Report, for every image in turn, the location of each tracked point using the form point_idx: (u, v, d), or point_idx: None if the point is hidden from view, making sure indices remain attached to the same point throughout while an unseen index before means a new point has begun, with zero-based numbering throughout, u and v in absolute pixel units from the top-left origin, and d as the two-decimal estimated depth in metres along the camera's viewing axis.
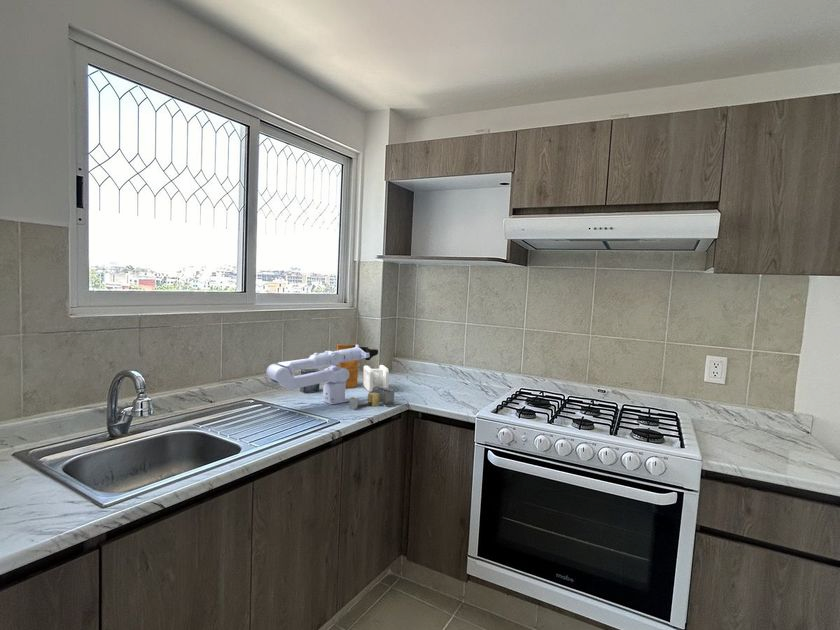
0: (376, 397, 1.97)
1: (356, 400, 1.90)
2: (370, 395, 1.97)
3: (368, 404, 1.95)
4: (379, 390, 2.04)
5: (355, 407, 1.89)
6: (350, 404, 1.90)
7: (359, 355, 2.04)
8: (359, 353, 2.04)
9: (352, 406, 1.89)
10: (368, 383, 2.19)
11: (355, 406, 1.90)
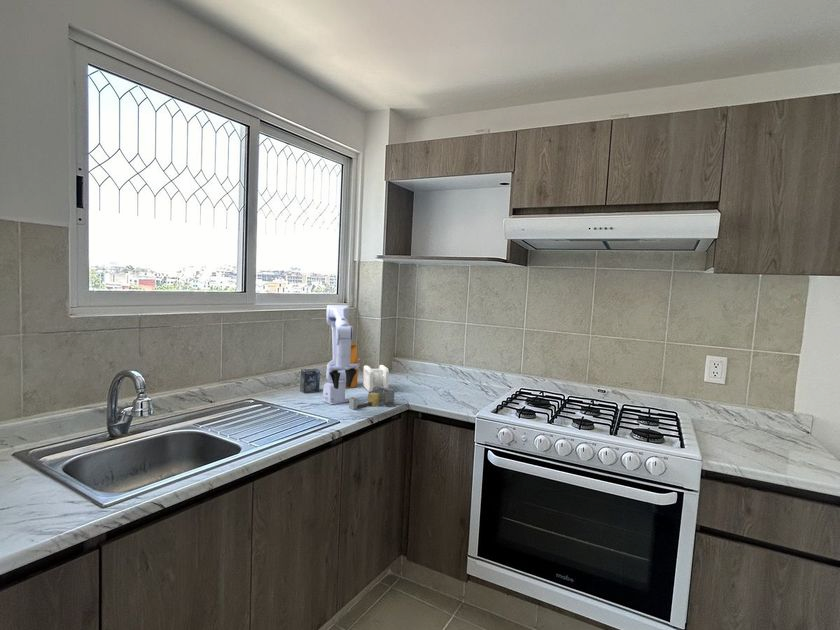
0: (376, 397, 1.97)
1: (356, 400, 1.90)
2: (370, 395, 1.97)
3: (368, 404, 1.95)
4: (379, 390, 2.04)
5: (355, 407, 1.89)
6: (350, 404, 1.90)
7: (336, 364, 1.83)
8: (338, 365, 1.83)
9: (352, 406, 1.89)
10: (368, 383, 2.19)
11: (355, 406, 1.90)
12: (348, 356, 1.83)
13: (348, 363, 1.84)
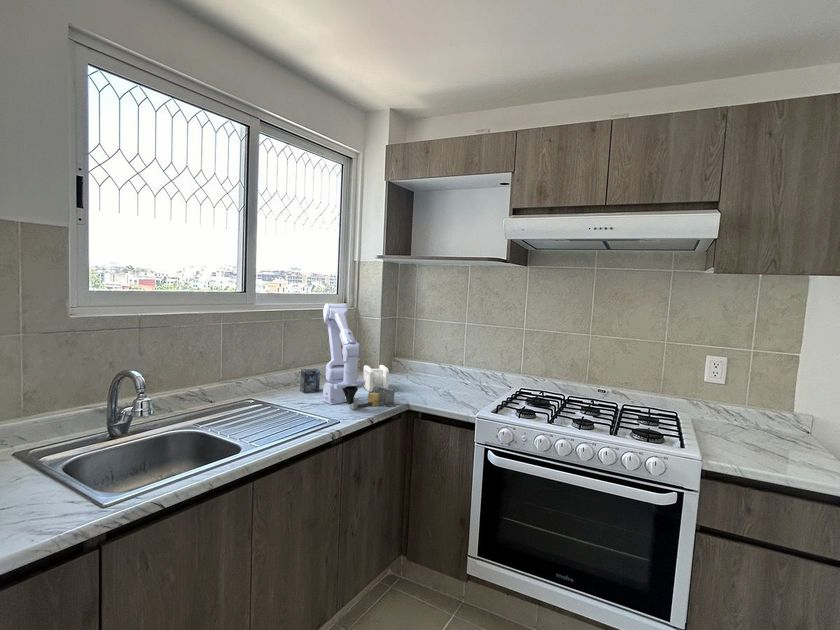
0: (376, 397, 1.97)
1: (356, 400, 1.90)
2: (370, 395, 1.97)
3: (368, 404, 1.95)
4: (379, 390, 2.04)
5: (355, 407, 1.90)
6: (350, 404, 1.90)
7: (344, 381, 1.87)
8: (345, 382, 1.86)
9: (352, 406, 1.89)
10: (368, 383, 2.19)
11: (355, 406, 1.90)
12: (355, 373, 1.87)
13: (355, 380, 1.87)
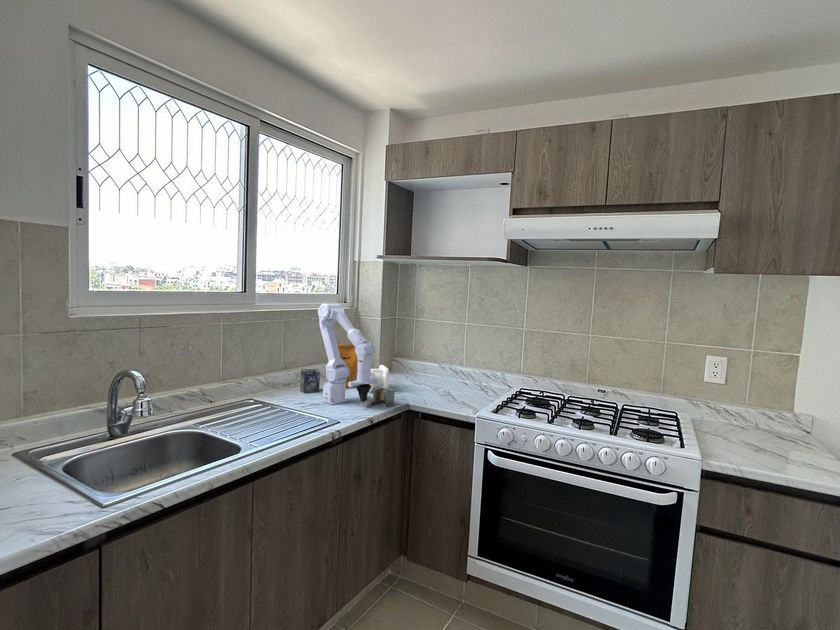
0: None
1: (369, 398, 1.94)
2: (383, 393, 2.01)
3: (381, 402, 2.00)
4: (379, 390, 2.04)
5: (368, 404, 1.94)
6: (363, 402, 1.95)
7: (357, 379, 1.92)
8: (359, 380, 1.91)
9: (366, 403, 1.94)
10: None
11: (369, 403, 1.94)
12: (368, 371, 1.91)
13: (368, 378, 1.92)
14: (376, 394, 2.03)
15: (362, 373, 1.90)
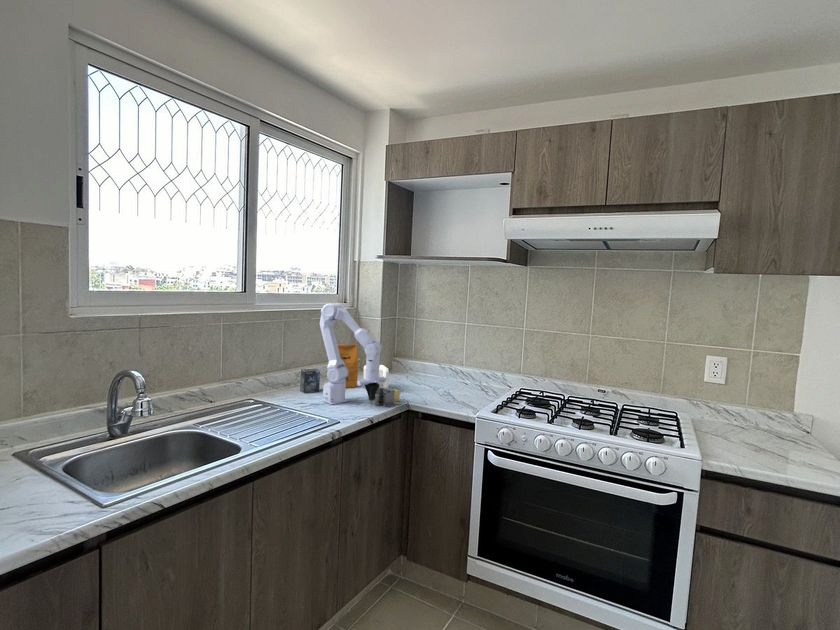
0: (396, 393, 2.05)
1: (378, 396, 1.98)
2: None
3: None
4: (379, 390, 2.04)
5: (377, 403, 1.98)
6: (372, 400, 1.98)
7: (366, 378, 1.95)
8: (367, 379, 1.94)
9: (374, 402, 1.97)
10: None
11: (377, 402, 1.98)
12: (377, 370, 1.95)
13: (377, 377, 1.95)
14: None
15: (371, 372, 1.93)
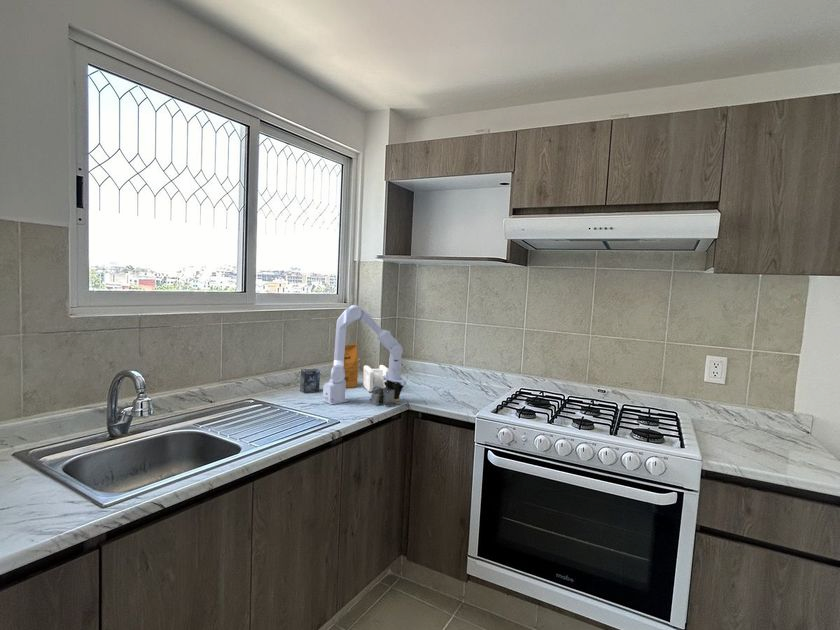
0: None
1: (378, 396, 1.98)
2: None
3: None
4: (379, 390, 2.04)
5: (377, 403, 1.98)
6: (372, 400, 1.98)
7: (397, 378, 2.03)
8: (399, 378, 2.04)
9: (374, 402, 1.97)
10: (368, 383, 2.19)
11: (377, 402, 1.98)
12: None
13: None
14: None
15: (400, 370, 2.05)
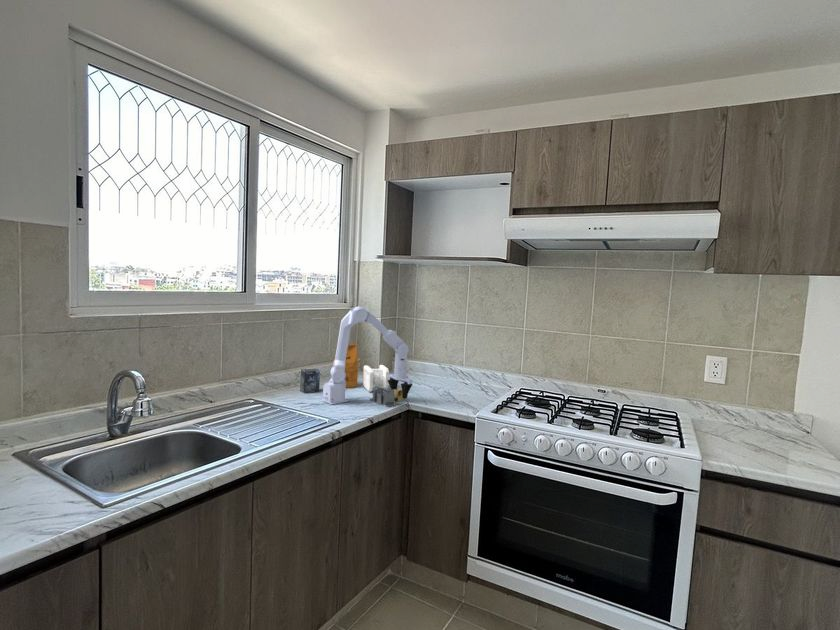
0: (401, 392, 2.07)
1: (383, 395, 2.00)
2: (395, 391, 2.07)
3: (394, 399, 2.06)
4: (379, 390, 2.04)
5: (382, 402, 2.00)
6: (377, 399, 2.01)
7: (403, 377, 2.06)
8: (405, 376, 2.06)
9: (379, 400, 1.99)
10: (368, 383, 2.19)
11: None
12: None
13: None
14: (376, 394, 2.03)
15: (406, 369, 2.07)
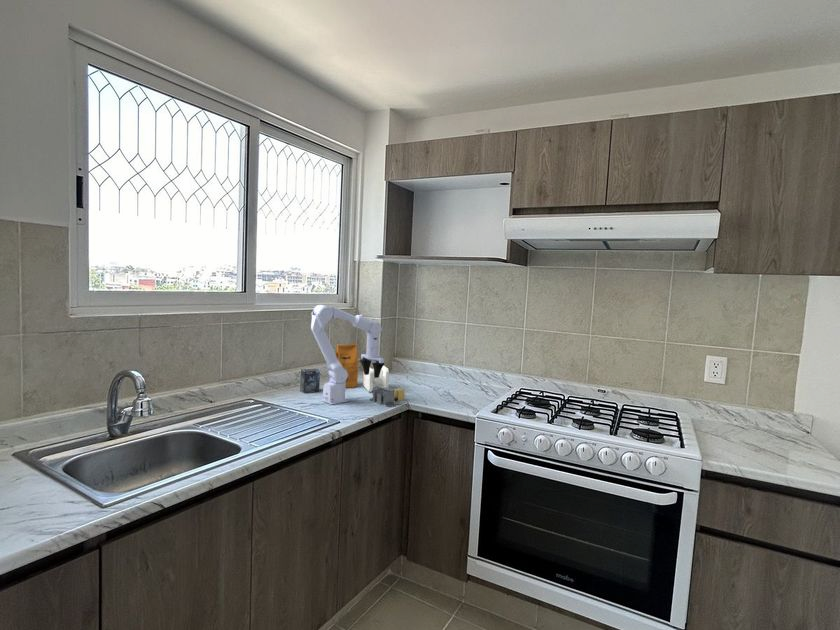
0: (401, 392, 2.07)
1: (383, 395, 2.00)
2: (395, 391, 2.07)
3: (394, 399, 2.06)
4: (379, 390, 2.04)
5: (382, 402, 2.00)
6: (377, 399, 2.01)
7: (375, 356, 2.06)
8: (376, 356, 2.06)
9: (379, 400, 1.99)
10: (368, 383, 2.19)
11: None
12: None
13: None
14: (376, 394, 2.03)
15: (378, 349, 2.08)
